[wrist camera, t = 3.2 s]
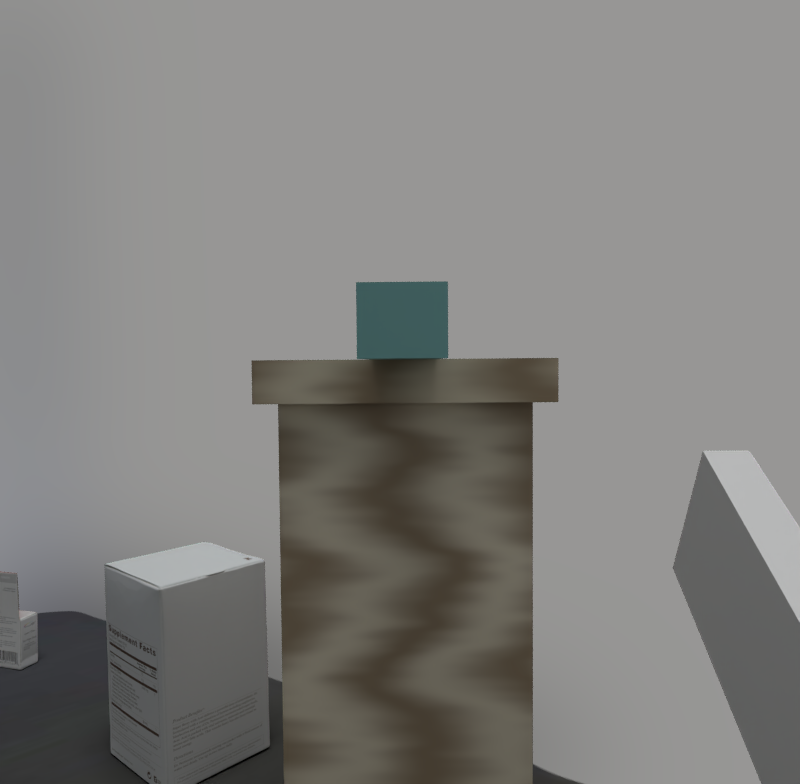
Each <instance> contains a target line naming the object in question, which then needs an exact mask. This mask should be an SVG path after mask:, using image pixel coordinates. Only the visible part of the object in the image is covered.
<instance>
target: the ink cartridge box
mask: <svg viewBox="0 0 800 784" xmlns="http://www.w3.org/2000/svg"><path fill="white" fill-rule="evenodd" d="M36 662H38V641H37V613H36V612H29V611H21V610H19V595H18V581H17V573H9V572H0V667H4V668H10V669H17V670H22V669H24V668H26V667H28V666H30V665H32V664H34V663H36Z"/></svg>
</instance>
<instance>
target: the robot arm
mask: <svg viewBox="0 0 800 784" xmlns="http://www.w3.org/2000/svg"><path fill="white" fill-rule="evenodd" d="M673 569H674V571H675V574H676V576H677V579H678V581H679V584H680V586H681V589H682V591H683V594H684V596H685V599H686V601H687V603H688V606H689V608H690V611H691V613H692V616H693V618H694V620H695V623H696V625H697V628H698V630H699V633H700V635H701V637H702V640H703V642H704V645H705V647H706V650H707V652H708V655H709V657H710V659H711V662H712V664H713V667H714V669H715V672H716V674H717V676H718V679H719V681H720V684H721V686H722V689H723V691H724V693H725V696H726V698H727V701H728V703H729V705H730V708H731V711H732V713H733V715H734V718H735V720H736V723H737V725H738V727H739V730H740V732H741V735H742V737H743V740H744V742H745V745H746V747H747V750H748V752H749V754H750V757H751V759H752V762H753V764H754V767H755V769H756V771H757V774H758V776H759V779H760V781H761V783H762V784H800V527H799V526H798V524H797V523H796V521H795V520H794V518H793V517H792V515H791V514H790V512H789V510H788V509H787V507H786V506H785V504H784V503H783V501H782V500H781V498H780V497H779V495H778V494H777V493H776V491H775V489H774V488H773V486H772V484H771V483H770V481H769V480H768V478H767V477H766V475H765V474H764V472H763V471H762V469H761V468H760V466H759V465H758V463H757V462H756V460H755V459H754V457H753V456H752V454H751V452H750V451H703V453H702V457H701V461H700V464H699V468H698V472H697V476H696V480H695V484H694V488H693V492H692V495H691V500H690V504H689V507H688V511H687V515H686V519H685V523H684V527H683V531H682V534H681V538H680V543H679V546H678V550H677V554H676V558H675V562H674V566H673Z"/></svg>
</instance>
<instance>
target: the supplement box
mask: <svg viewBox="0 0 800 784" xmlns="http://www.w3.org/2000/svg"><path fill="white" fill-rule="evenodd" d="M105 592H106V593H105V594H106V621H107V651H108V680H109V710H110V741H111V753H112V754H113V755H114V756H115V757H117V758H118V759H119V760H120V761H122V762H123V763H124V764H125V765H127V766H128V767H129V768H130V769H132V770H133V771H134V772H135V773H137V774H138V775H139V776H140V777H142V778H143V779H144V780H145V781H147V782H148V783H149V784H197V783H199V782H201V781H203V780H204V779H206V778H208V777H210V776H212V775H214V774H216V773H218V772H220V771H222V770H224V769H226V768H228V767H230V766H232V765H234V764H236V763H238V762H240V761H242V760H244V759H246V758H248V757H250V756H252V755H254V754H256V753H258V752H260V751H262V750H264V749H266V748H268V747H269V746H270V728H269V695H268V663H267V662H268V660H267V626H266V591H265V561H264V560H263V559H261V558H257V557H253V556H249V555H246V554H242V553H239V552H236V551H232V550H229V549H226V548H224V547H221V546H218V545H215V544H212V543H209V542H201V543H196V544H192V545H188V546H183V547H179V548H174V549H170V550H166V551H162V552H157V553H153V554H148V555H143V556H139V557H134V558H130V559H125V560H121V561H116V562H111V563H106V564H105Z"/></svg>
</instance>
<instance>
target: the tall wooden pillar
mask: <svg viewBox="0 0 800 784" xmlns="http://www.w3.org/2000/svg"><path fill="white" fill-rule="evenodd" d="M533 402H558V358H522V359H521V358H510V359H390V360H275V361H272V360H271V361H270V360H267V361H252V404H278V420H279V422H278V423H279V481H280V482H279V486H280V487H279V488H280V552H281V609H282V611H281V614H282V616H281V617H282V679H283V681H282V683H283V748H284V784H533V747H532V746H533V700H532V699H533V689H532V688H533V682H532V681H533V669H532V667H533V632H532V631H533V629H532V627H533V611H532V610H533V599H532V597H533V591H532V590H533V583H532V581H533V578H532V577H533V571H532V570H533V568H532V567H533V566H532V565H533V563H532V562H533V561H532V560H533V557H532V556H533V545H532V544H533V540H532V539H533V536H532V535H533V534H532V533H533V529H532V528H533V526H532V525H533V521H532V520H533V516H532V515H533V513H532V512H533V508H532V507H533V502H532V501H533V500H532V499H533V497H532V496H533V494H532V493H533V490H532V489H533V482H532V481H533V480H532V479H533V478H532V477H533V476H532V475H533V472H532V470H533V469H532V468H533V466H532V465H533V463H532V460H533V459H532V458H533V457H532V456H533V450H532V449H533V448H532V447H533V446H532V444H533V442H532V440H533V437H532V436H533V428H532V426H533V425H532V424H533V422H532V420H533V418H532V417H533V414H532V412H533V411H532V410H533V406H532V404H533Z"/></svg>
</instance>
